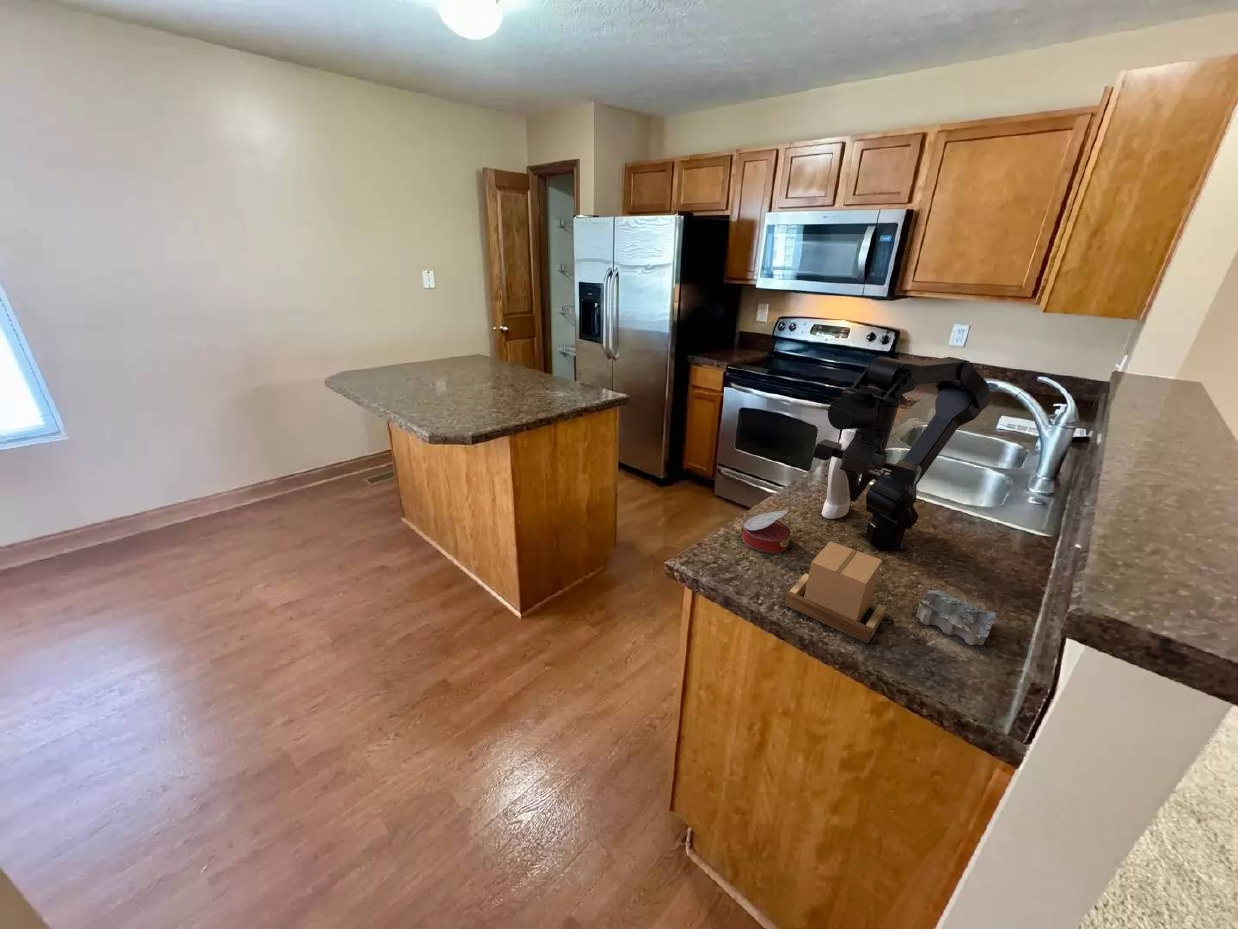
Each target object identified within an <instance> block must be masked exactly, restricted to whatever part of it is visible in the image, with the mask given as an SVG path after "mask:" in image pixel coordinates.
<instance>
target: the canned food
mask: <svg viewBox="0 0 1238 929" xmlns="http://www.w3.org/2000/svg"><path fill="white" fill-rule="evenodd" d="M789 512H790V510H786V509H785V510H776V511H769V512H766V513H761V514H758V515H755V516H753V517H750V518H748V519H747V520H746V521H745V522H744V523H743V529H742V535H741V537H742V541H743V543H744V544H745V545H746V546H748V547H749V548H752V549H753V550H756V551H759V552H762V553H763V552H764V553H771V554H773V553H779V552H780V553H781V552H783V551H785V550H787V548H788V547H789V543H790V537H791V528H790V527H789V526H788V525H787V524H785V523H784V522H782V521H781V520H780V519H782V518H784V517H785V516H786V514H788V513H789Z"/></svg>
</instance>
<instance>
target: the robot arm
mask: <svg viewBox="0 0 1238 929" xmlns="http://www.w3.org/2000/svg"><path fill="white" fill-rule="evenodd" d="M927 384H935V388H936V390H937V393H938V394H937V396H936V398H935V406H934V407H935V409H934V410H935V411H934V412H935V413H934V415H933V416H932V417H931V420H929V422H928V423H927V425H926V426H925V427H924V429H923V430H922V432H921V433H920V435H919V436H918V438H917V439H916V440H915V442H914V443H913V444H912V446H911V447H910V449H909V450H908V451H907V453H906V454H905V456H904V457H903V459H899V460H898V461H897V462H896V463H892V462H889V461H887V459H888V451H886V449H887V446H888V442H889V439H890V436H891V433H892V430H893V426H894V423H895V420H896V416H897V413H898V410H899V407H900V405H901V406H902V405H907V403H908V400H907V399H906V397H905V396H904V395H905V394H907V393H910V392H913V391H915V389H916V387H917V386H920V385H927ZM991 400H992V393H991V390H990V387H989V383H988V381H987V380H985V378H983V376H982V375H981V374H979V373H978V371H976V370H975V366H974V364H973V362H971V361H970V360H967V359H964V358H958V357H953V356H945V357H943V358H934V359H923V360H913V361H905V360H900V359H896V358H890V357H885V356H878V357H876V358H874V359H873V360H872V362H870V364H868V366H867V367H866V369H865V370H864V371H863V372H862V373H861V375H860V376H859V377H858V378H857V380H855V382H854V383H853V384H852V386H851V387H850V389H849V390H843V391H842V393H841V396H840V397H838V398H835V399H834V400H833V401H832V402H831V404H830V405H829V406H828V409H827V419H828V422H829V424H830V426H831V427H833V428H834V429H836V430H841V431H842V430H845V429H857V431H856V432H855V435H854V438H853V439H852V441H851V442H850V444H849V445H848V447H847V448H846V449H845V450H843V449H841V448H842V444H841V443H839V442H837V441H834V440H831V439H827V438H825V439H823V440H821V441H819V442H817V443H815V444H814V445H813V447H812V451H811V455H810V456H811V457H812V458H815V459H817V460H822V461H823V462H824V461H825V462H827V461H828V460H831V458H832V456H833V457H836V458H839V459H842V464H841V465H840V466H839V467H840V469H841V470H844V472H845V473H846V475H847V479H848V484H849V494H850V502H853V503H855V502H856V501H858V499H859V497H860V496H861V495H862V493H863V492H864V491H865V489H866V488H867V487H868V485H869V484H870V483H871V482H872V481H873V480H875V481H874V482H873V483H872V484H870V486H869V487H868V490H867V491H866V493H865V510H866V512H867V513H870V514H872V515H871V518H870V520H869V521H868V524H867V527H866V531H865V532H863V533H862V536H863V537H864V539H866V541H867V542H868V543H869V544H870V545H871V546H872V547H873V548H874V550H876V551H904V550H906V548H907V547H906V546H905V545H904V544H903V539H904V536H905V533H906V530H910V529H912V527H913V526H915V525H916V523H917V521H918V519H919V517H920V516H919V513H918V512H917V511H916V509H915V507H914V505H915V503H916V501H917V495H918V494H917V493H918V492H917V489H918V487H917V486H918V484H919V482H920V481H921V480H922V478H923V477H924V475H925V474H926V473H927V471H928V470H929V469H930V467H931V466H932V465H933V463H934V461H935V460H936V459H937V458H938V456H939V455H940V453H941V452H942V451H943V449H944V448H945V447H946V445H947V444H948V442H949V441H950V439H951V438H952V437H953V435H954V434H955V432H956V431H957V430H958V428H960V427H961V426H963V425H966V424H967V423H970V422H972V421H974V420H975V419H976V418H977V417H978V416H979V415H980V414H981V413H982V412H983V410H985V409H986V408H987V407H988V406H989V404H990V402H991Z"/></svg>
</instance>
